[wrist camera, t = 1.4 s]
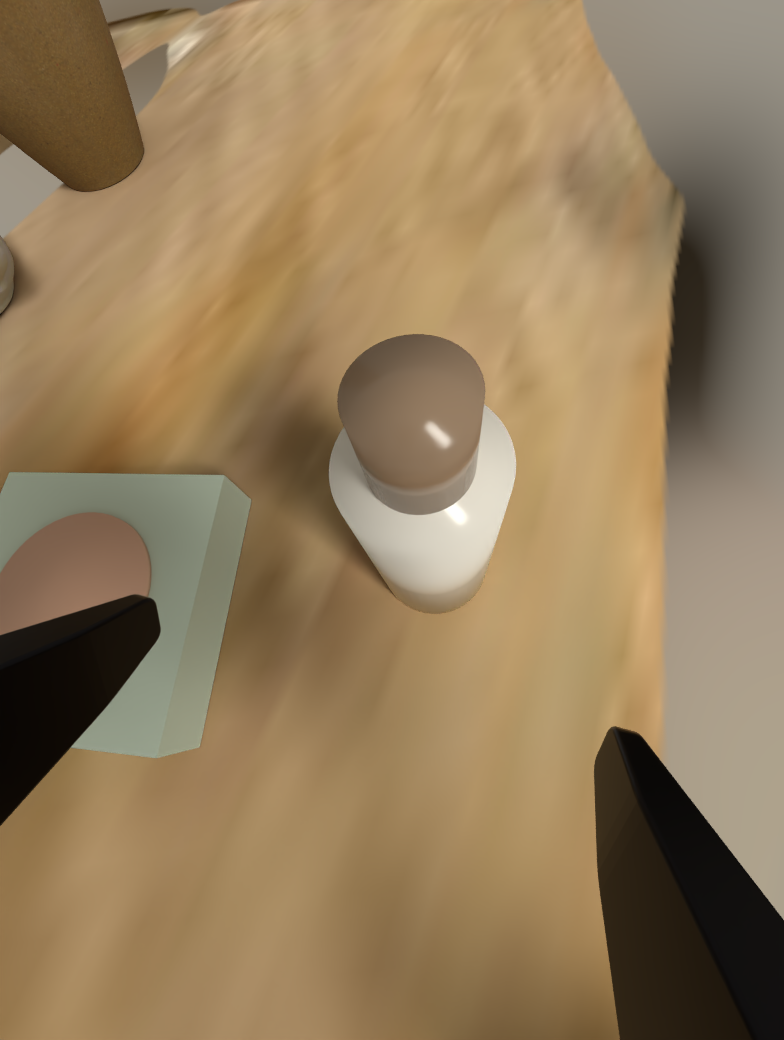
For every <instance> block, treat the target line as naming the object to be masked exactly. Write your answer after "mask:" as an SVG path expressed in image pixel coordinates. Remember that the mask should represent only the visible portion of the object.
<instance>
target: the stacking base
mask: <svg viewBox="0 0 784 1040" xmlns="http://www.w3.org/2000/svg"><path fill="white" fill-rule="evenodd" d="M250 505H251V499H250V498H249V497H248V496H247V495H246V494H244V493H243V492H242V491H241V490H240V489H239V488H238V487H237V486H236V485H235V484H234V483H232V482H231V481H230V480H229V479H228V478H227V477H226V476H225V475H181V474H110V473H39V472H9V475H8V477H7V479H6V481H5V484H4V486H3V488H2V491H1V493H0V635H2V634H5V633H8V632H12V631H15V630H18V629H21V628H25V627H28V626H31V625H35V624H38V623H41V622H44V621H48V620H51V619H54V618H57V617H61V616H64V615H67V614H70V613H74V612H77V611H80V610H83V609H87V608H90V607H93V606H97V605H100V604H103V603H106V602H110V601H113V600H116V599H119V598H123V597H126V596H129V595H133V594H139V595H142V596H146V597H150V598H152V599H154V601H155V602H156V605H157V610H158V615H159V621H160V626H161V633H160V636H159V638H158V640H157V642H156V643H155V644H154V646H153V647H152V648H151V650H150V651H149V652H148V654H147V655H146V656H145V658H144V659H143V660H142V662H141V663H140V664H139V666H138V667H137V668H136V670H135V671H134V672H133V674H132V675H131V676H130V678H129V679H128V680H127V681H126V683H125V684H124V685H123V687H122V688H121V689H120V691H119V692H118V693H117V695H116V696H115V697H114V699H113V700H112V701H111V702H110V704H109V705H108V706H107V707H106V708H105V709H104V711H103V712H102V713H101V714H100V715H99V716H98V717H97V719H96V720H95V721H94V722H93V723H92V724H91V725H90V726H89V728H88V729H87V730H86V731H85V732H84V733H83V734H82V735H81V736H80V738H79V739H78V740H77V741H76V742H75V743H74V744H73V745H72V747H71V748H78V749H86V750H94V751H102V752H110V753H118V754H126V755H135V756H143V757H151V758H159V757H163V756H167V755H171V754H175V753H179V752H183V751H187V750H191V749H195V748H199V747H200V743H201V739H202V734H203V729H204V724H205V720H206V715H207V710H208V705H209V700H210V696H211V691H212V686H213V681H214V677H215V672H216V667H217V662H218V658H219V653H220V648H221V643H222V639H223V634H224V629H225V624H226V620H227V615H228V610H229V605H230V600H231V596H232V591H233V586H234V581H235V577H236V572H237V567H238V562H239V558H240V553H241V548H242V543H243V539H244V534H245V529H246V524H247V519H248V515H249V510H250Z"/></svg>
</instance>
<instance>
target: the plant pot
mask: <svg viewBox="0 0 784 1040" xmlns="http://www.w3.org/2000/svg"><path fill="white" fill-rule="evenodd" d="M0 133H1V134H2V135H3V136H4V137H6V138H7V139H8V140H9V141H11V142H12V143H13V144H14V145H16V146H17V147H18V148H20V149H21V150H22V151H23V152H24V153H26V154H27V155H28V156H30V157H31V158H32V159H33V160H35V161H36V162H37V163H39V164H40V165H41V166H42V167H44V168H45V169H46V170H48V171H49V172H50V173H52V174H53V175H54V176H56V177H57V178H58V179H60V180H61V181H62V182H64V183H65V184H66V185H68V186H69V187H71V188H73V189H75V190H78V191H95V190H100V189H103V188H106V187H109V186H111V185H113V184H115V183H117V182H119V181H121V180H122V179H124V178H125V177H126V176H128V175H129V174H130V173H131V172H132V171H133V170H134V169H135V168H136V167H137V165H138V164H139V163H140V161H141V159H142V156H143V152H144V147H143V143H142V139H141V135H140V131H139V127H138V123H137V119H136V116H135V112H134V108H133V105H132V101H131V98H130V94H129V91H128V88H127V84H126V81H125V77H124V74H123V71H122V67H121V64H120V61H119V58H118V55H117V52H116V49H115V46H114V43H113V40H112V37H111V34H110V31H109V28H108V25H107V22H106V19H105V16H104V13H103V10H102V8H101V5H100V2H99V0H0Z"/></svg>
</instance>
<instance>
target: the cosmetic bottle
mask: <svg viewBox="0 0 784 1040" xmlns="http://www.w3.org/2000/svg"><path fill="white" fill-rule="evenodd" d="M484 400H485V382H484V378H483V374H482V372H481V370H480V367H479V366H478V364H477V363H476V361H475V360H474V359H473V357H472V356H471V355H470V354H469V353H468V352H467V351H466V350H464V349H463V348H462V347H460V346H459V345H457V344H455V343H453V342H451V341H449V340H446V339H444V338H441V337H437V336H432V335H424V334H412V335H403V336H398V337H394V338H390V339H387V340H385V341H382V342H380V343H378V344H376V345H374V346H372V347H371V348H369V349H368V350H366V351H365V352H363V353H362V354H361V355H360V356H359V357H358V358H357V359H356V360H355V361H354V362H353V363H352V364H351V365H350V367H349V368H348V370H347V371H346V373H345V375H344V376H343V378H342V381H341V384H340V387H339V391H338V401H337V402H338V411H339V415H340V418H341V420H342V423H343V425H344V428H343V429H342V431H341V432H340V434H339V436H338V438H337V440H336V442H335V444H334V447H333V450H332V453H331V458H330V463H329V483H330V488H331V493H332V496H333V498H334V501H335V504H336V506H337V507H338V509H339V511H340V513H341V515H342V516H343V518H344V519H345V521H346V522H347V524H348V525H349V527H350V528H351V530H352V531H353V533H354V535H355V536H356V538H357V539H358V541H359V542H360V544H361V545H362V547H363V548H364V550H365V552H366V553H367V555H368V556H369V558H370V559H371V561H372V562H373V564H374V565H375V567H376V568H377V570H378V572H379V573H380V575H381V576H382V578H383V579H384V581H385V582H386V584H387V585H388V587H389V588H390V590H391V591H392V593H393V594H394V595H395V597H396V598H397V599H398V600H399V601H401V602H402V603H403V604H405V605H406V606H408V607H410V608H411V609H414V610H416V611H419V612H423V613H430V614H440V613H446V612H450V611H453V610H455V609H458V608H460V607H461V606H463V605H465V604H466V603H467V602H468V601H470V600H471V599H472V598H473V597H474V596H475V594H476V593H477V592H478V590H479V589H480V587H481V585H482V583H483V580H484V577H485V574H486V571H487V568H488V565H489V562H490V558H491V555H492V552H493V549H494V546H495V543H496V539H497V536H498V533H499V530H500V527H501V524H502V520H503V517H504V514H505V511H506V508H507V504H508V501H509V498H510V495H511V492H512V489H513V485H514V480H515V475H516V458H515V451H514V447H513V443H512V440H511V438H510V436H509V433H508V431H507V430H506V428H505V426H504V425H503V423H502V422H501V420H500V419H499V418H498V417H497V416H496V414H495V413H494V412H493V411H491V410H490V409H489V408H488V407H487V406H486V405H484Z"/></svg>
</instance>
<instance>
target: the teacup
mask: <svg viewBox="0 0 784 1040" xmlns="http://www.w3.org/2000/svg"><path fill="white" fill-rule="evenodd" d="M13 277H14V261H13V257H12V255H11V252H10V250H9V248H8V246H7V245H6V243H5V241H4V240H3V239H2V237H1V236H0V314H1V313H2V312H3V311H4V309H5V308H6V307H7V305H8V304H9V302H10V300H11V299H12V295H13V291H14V283H13Z"/></svg>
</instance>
